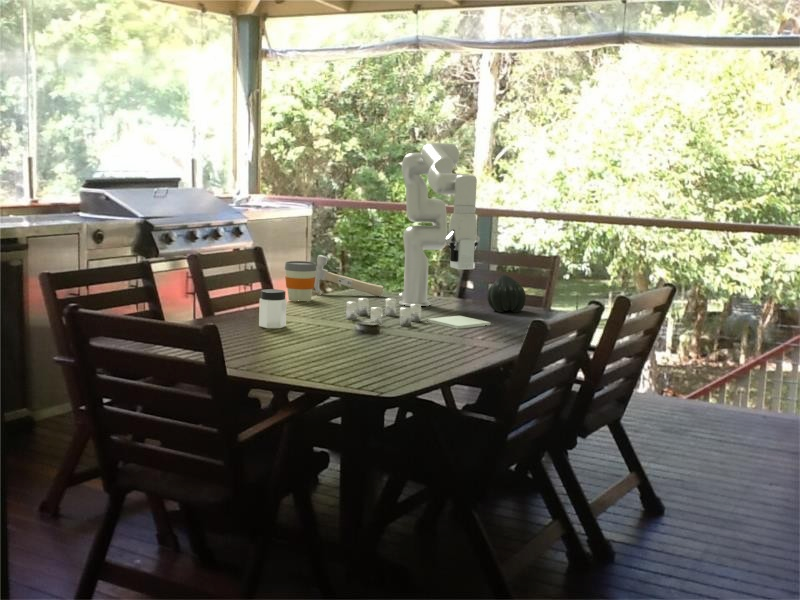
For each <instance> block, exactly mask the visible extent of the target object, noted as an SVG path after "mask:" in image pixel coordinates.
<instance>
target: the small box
mask: <svg viewBox="0 0 800 600" xmlns="http://www.w3.org/2000/svg"><path fill="white" fill-rule="evenodd" d="M474 244H475V240H472V239H465V240H460V242H459V245H458V248H457V250H458V261H457V262H454V261H451V260H450V259H449V260H450V261H449V262H450V263H449V267H450V268H452V269H456V270H474V268H475V267H474V266H475V265H474V264H475V250H474ZM450 258H451V256H450Z"/></svg>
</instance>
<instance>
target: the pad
mask: <svg viewBox="0 0 800 600" xmlns="http://www.w3.org/2000/svg"><path fill="white" fill-rule="evenodd" d="M427 321H428V322H427ZM426 322H427V323H432V324H436V325H441V326H445V327H449V328H453V329H457V330H460V329H467V328H468V329H469V328H476V327H486V326H485V325H487V326H491V321H486V320H482V319H478V318H472V317H467V316H463V315H453V316H452V315H451V316H443V317H442V316H441V317H433V318H431V317H430V318H427V319H426Z"/></svg>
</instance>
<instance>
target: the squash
mask: <svg viewBox="0 0 800 600" xmlns="http://www.w3.org/2000/svg"><path fill="white" fill-rule="evenodd" d="M486 294H487V295H486V296H487V297H486V298H487V302H488V305H489V307H490V308H491V309H492V310H493V311H495V310H496V311H495V312H499V313H504V312H507V311H510V312H512V313H519V312H521V311H522V310H523V308H524V307H525V304H526V301H527V299H526V297H527V295H526V292H525V289H524V287H523V286H522V285H521V283H520V282H519V281H518V280H516V279H514V278H513V277H511V276H509V275H507V274H502V275H500V276H499V277H497V279H496V280H495V281H494V282H493V283H492V284H491V285H490V286H489V288H488V290H487V293H486Z"/></svg>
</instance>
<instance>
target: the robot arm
mask: <svg viewBox="0 0 800 600" xmlns="http://www.w3.org/2000/svg"><path fill="white" fill-rule="evenodd" d="M459 160H460V152H459V148H458V147H457V146H456V145H455V144H452V143H441V142H430V143H427V144H425V145H424V146H423V147H422V148H421V150H420V152H410V153H407V154H406V155H404V157H403V159H402V162H401V172H402V173H401V174H402V177H403V180H404V185H405V194H406V195H405V196H406V200H405V201H406V202H405V203H406V204H405V205H406V206H405V207H406V217H407V219H408V220H409V221H410V222H412V223H431V224H432V225H410V226H408V227H407V228H405V229H404V230H403V231H404V232H403V246H404V247H403V248H404V270H403V272H404V273H403V274H404V277H403V291H402V292H401V293H399V294H398V297H399V298H401V300H399V301H398V304H399V305H401V306H404V305H405V306H404V307H410V304H421V306H426V307H430V306H431V301H429V300H428V288H429V287H428V284H429V259H428V257H427V255H426V253H425V251H428V250H429V251H438V250H444V248H445V247H448V248H449V250H450V257H451V258H450V259H449V260H451V261H454V262H457V261H458V250H457V248H458V245H459V242H460V240H465V239H472V240H475V244H474V251H475V250H476V247H477V246H478V243H479V242H480V240H481V237H480V236H479V235H478V234H477V233H478V231H477V229H478V225H477V222H478V221H477V216H476V211H477V207H476V202H477V201H476V199H477V185H478V183H477V182H478V180H477V177H476V176H475V175H473V174H472V175H471V174H465V173H452V172H453V170H454V168H455V167H456V166H457V164H458V163H459ZM421 175H423V176H427V181H428V184H429V186H430V188H431V189H432V190H433V192H434V193H435V194H439V195H451V196H452V195H453V197H454V199H453V213H451V217H450V220H449V225H448V220H447V219H448V218H447V216H448V215H447V214H448V213H447V206H446V203H445V202H444V201H443V200H442V199H440V198H429V196H428V195H429V194H428V193H429V191H428V185H427V183H426V181H425V179H424V178H423V177H422V176H421ZM446 245H447V246H446ZM429 305H430V306H429Z"/></svg>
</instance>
